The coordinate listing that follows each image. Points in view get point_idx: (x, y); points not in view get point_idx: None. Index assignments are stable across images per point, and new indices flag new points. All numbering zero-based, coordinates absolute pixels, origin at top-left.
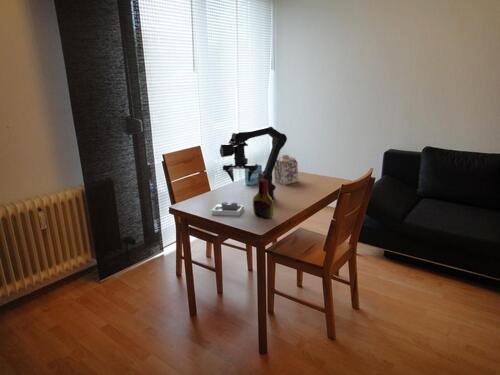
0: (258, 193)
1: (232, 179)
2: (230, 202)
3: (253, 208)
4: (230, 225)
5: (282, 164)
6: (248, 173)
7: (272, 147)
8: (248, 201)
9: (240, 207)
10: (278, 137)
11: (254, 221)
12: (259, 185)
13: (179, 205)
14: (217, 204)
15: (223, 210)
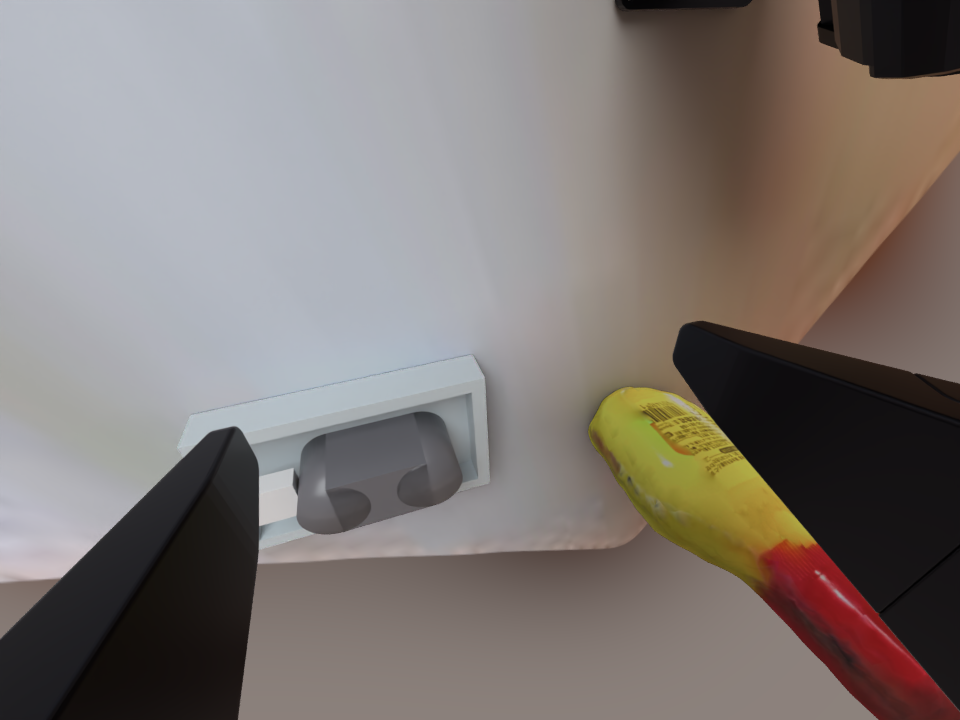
0: (745, 582)
1: (244, 571)
2: (380, 476)
3: (605, 460)
4: (476, 553)
5: None
6: (932, 667)
7: None
8: (438, 95)
9: (474, 426)
10: None
11: (590, 476)
12: (833, 672)
13: None
14: (182, 452)
15: None
